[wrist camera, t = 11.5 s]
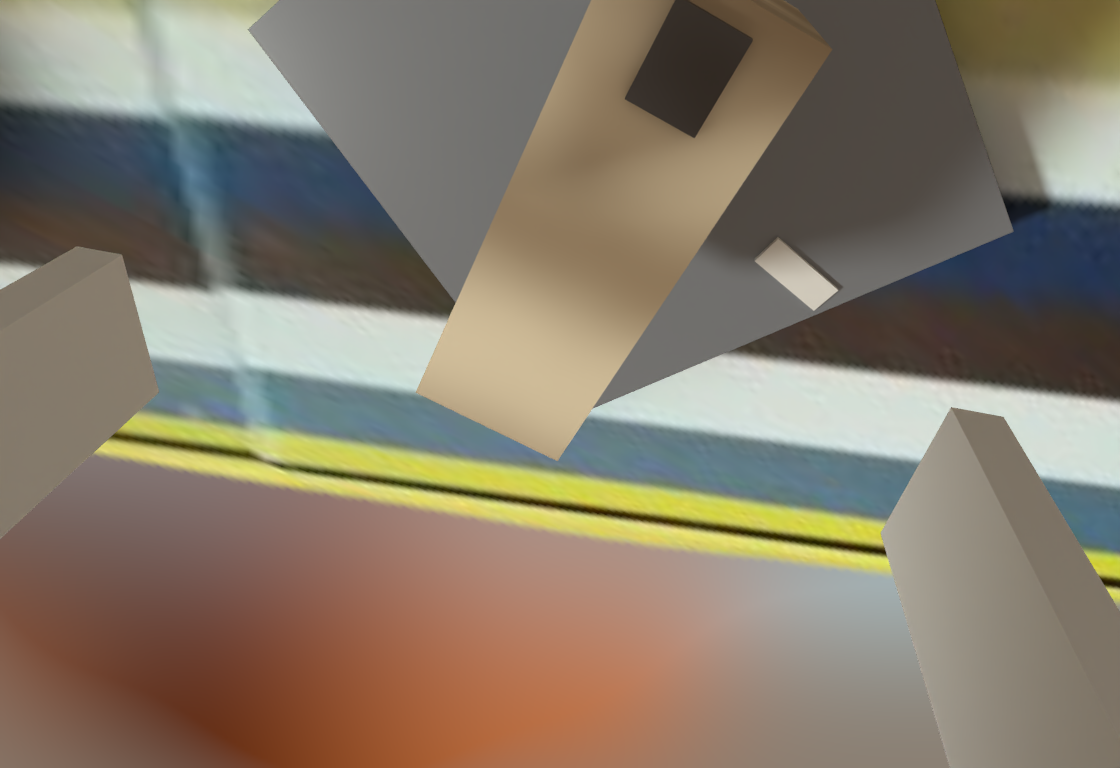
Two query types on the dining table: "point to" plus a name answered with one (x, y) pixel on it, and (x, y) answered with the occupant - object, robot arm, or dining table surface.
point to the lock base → (752, 215)
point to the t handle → (614, 202)
